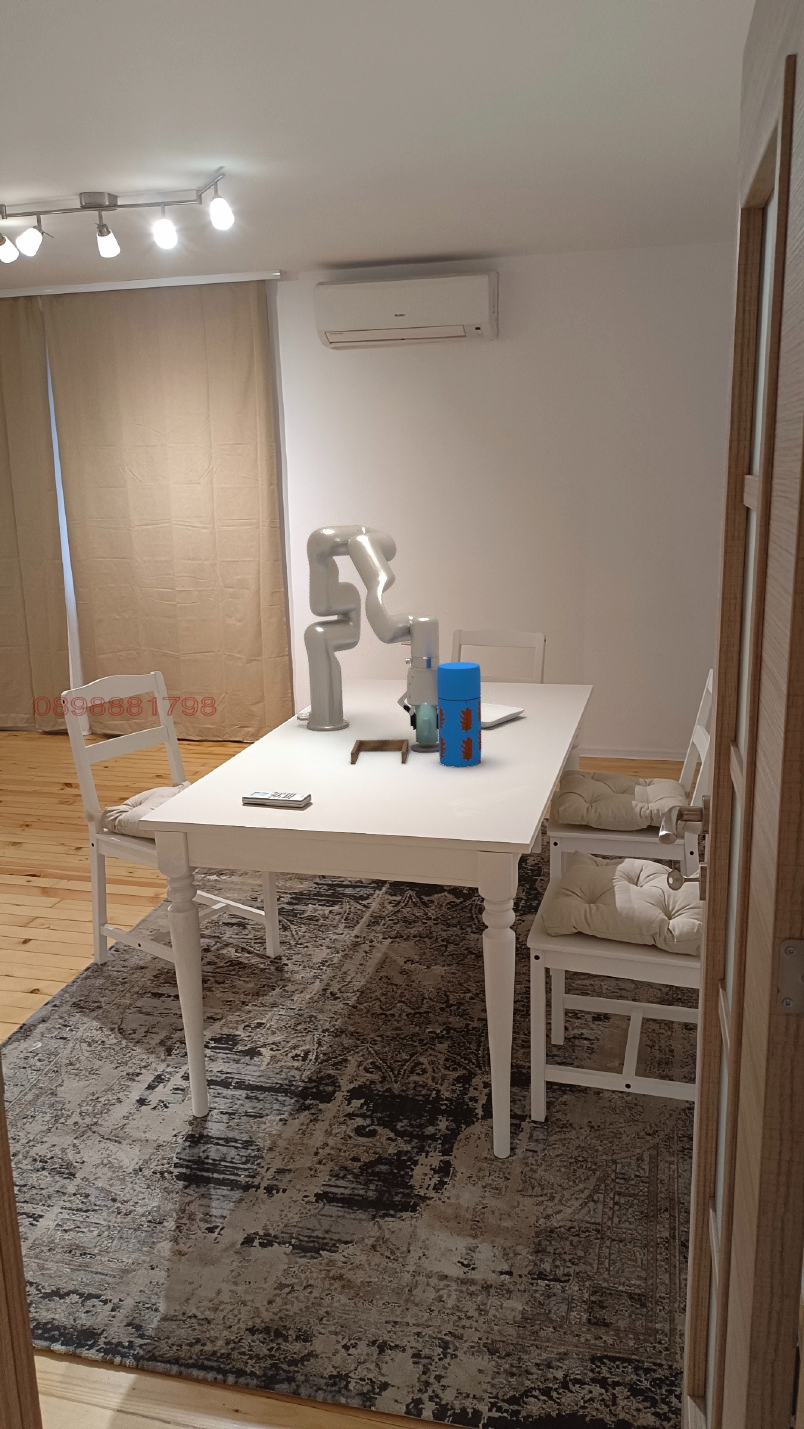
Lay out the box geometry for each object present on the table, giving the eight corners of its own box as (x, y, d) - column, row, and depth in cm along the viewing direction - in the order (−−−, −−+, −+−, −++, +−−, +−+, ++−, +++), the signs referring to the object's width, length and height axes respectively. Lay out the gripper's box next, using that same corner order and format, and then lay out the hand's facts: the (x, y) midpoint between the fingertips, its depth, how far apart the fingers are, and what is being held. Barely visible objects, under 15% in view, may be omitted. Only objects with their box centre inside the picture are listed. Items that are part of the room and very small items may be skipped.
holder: (351, 764, 265) (350, 752, 264) (356, 750, 278) (356, 739, 278) (405, 763, 264) (405, 752, 263) (408, 750, 278) (408, 739, 277)
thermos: (486, 757, 267) (485, 662, 262) (475, 768, 257) (474, 669, 252) (446, 755, 271) (444, 661, 265) (433, 766, 261) (431, 668, 255)
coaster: (409, 752, 275) (409, 750, 274) (411, 744, 283) (411, 742, 283) (443, 752, 274) (443, 750, 274) (444, 744, 283) (444, 742, 283)
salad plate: (489, 732, 297) (489, 720, 296) (429, 724, 310) (429, 713, 309) (526, 718, 313) (526, 707, 313) (468, 711, 326) (468, 700, 325)
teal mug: (416, 738, 281) (415, 699, 279) (438, 738, 281) (437, 698, 279) (415, 746, 273) (413, 705, 271) (437, 745, 273) (436, 705, 271)
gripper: (391, 665, 271) (393, 732, 274) (457, 664, 270) (458, 731, 273) (393, 660, 278) (395, 726, 282) (457, 659, 277) (459, 725, 281)
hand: (426, 728), depth 278 cm, fingers closed on teal mug, 6 cm apart
